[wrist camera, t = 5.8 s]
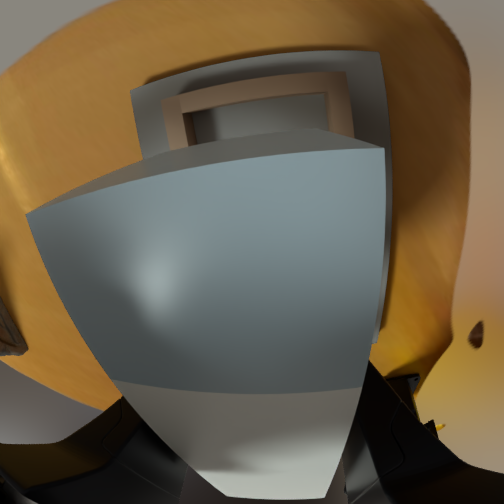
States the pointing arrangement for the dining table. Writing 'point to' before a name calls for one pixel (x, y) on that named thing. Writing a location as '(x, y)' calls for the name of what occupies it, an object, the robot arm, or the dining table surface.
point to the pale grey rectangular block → (232, 298)
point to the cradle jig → (272, 108)
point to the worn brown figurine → (10, 335)
